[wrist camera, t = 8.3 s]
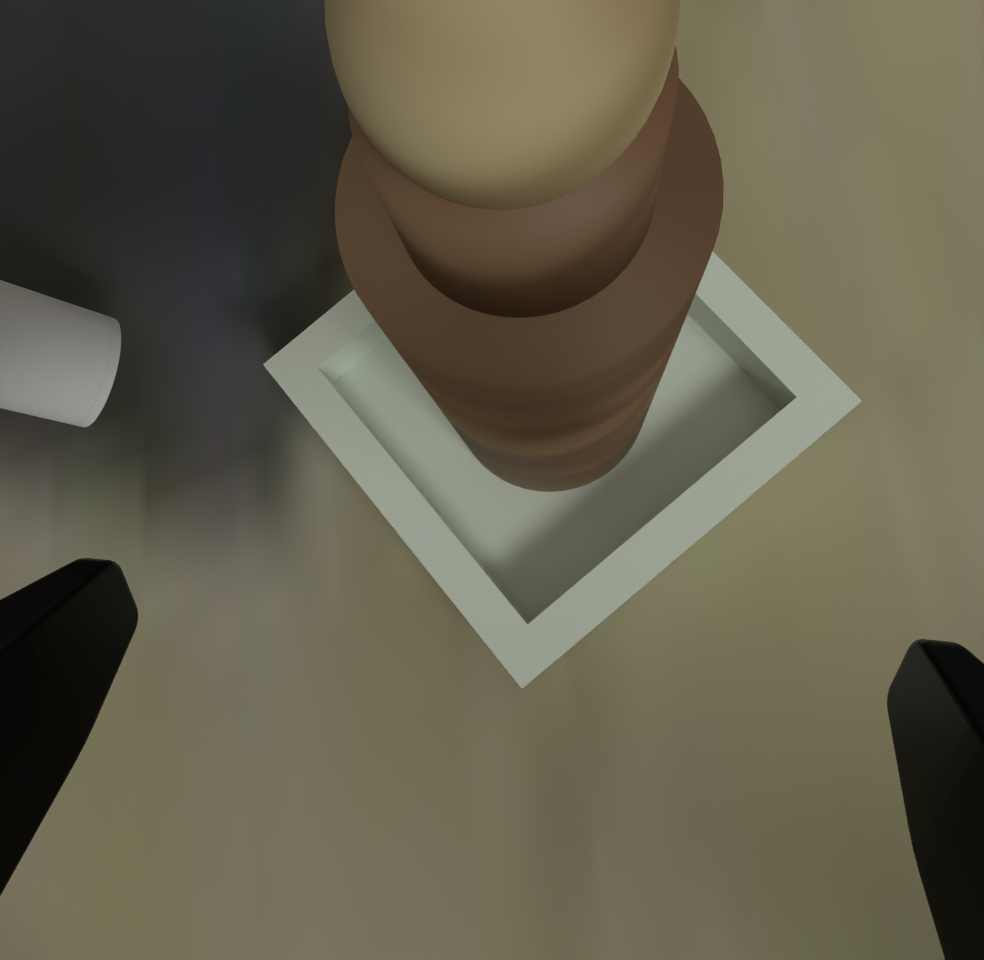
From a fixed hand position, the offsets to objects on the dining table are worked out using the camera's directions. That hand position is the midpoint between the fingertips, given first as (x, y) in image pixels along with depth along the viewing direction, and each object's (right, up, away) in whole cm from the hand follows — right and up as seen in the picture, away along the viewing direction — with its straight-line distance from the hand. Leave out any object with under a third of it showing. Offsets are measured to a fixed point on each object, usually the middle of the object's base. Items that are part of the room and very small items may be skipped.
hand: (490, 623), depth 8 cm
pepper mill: (+1, +4, +10) cm, 11 cm away
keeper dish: (+2, +4, +11) cm, 11 cm away
